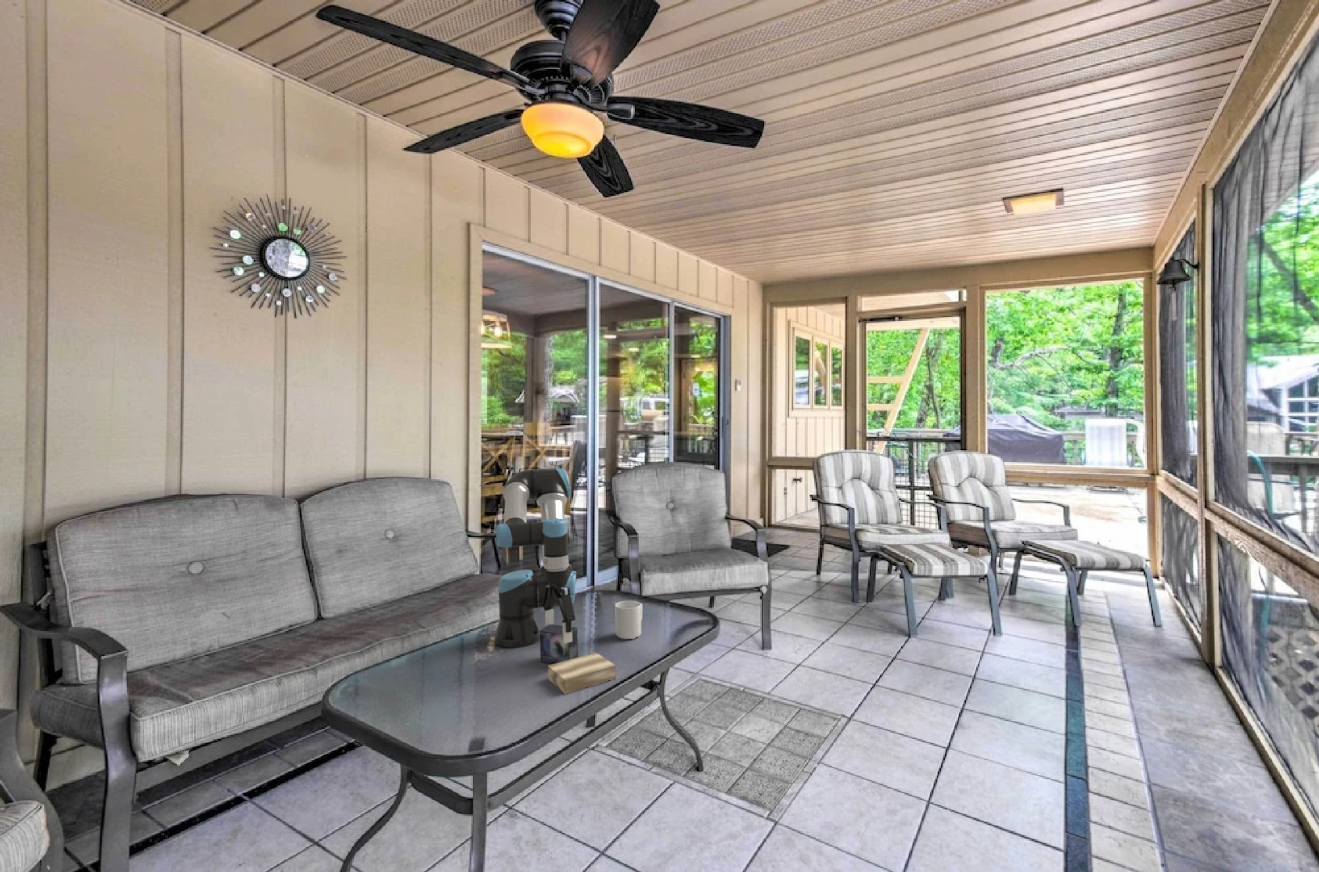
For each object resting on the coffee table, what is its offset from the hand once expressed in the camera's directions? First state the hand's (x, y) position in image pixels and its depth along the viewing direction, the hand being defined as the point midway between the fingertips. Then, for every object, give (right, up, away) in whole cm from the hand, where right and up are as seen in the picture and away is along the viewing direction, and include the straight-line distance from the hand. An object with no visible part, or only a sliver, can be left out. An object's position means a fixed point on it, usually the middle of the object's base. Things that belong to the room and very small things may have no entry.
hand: (558, 636), depth 189 cm
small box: (0, -8, +1) cm, 8 cm away
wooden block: (+9, -8, -13) cm, 18 cm away
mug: (+22, -7, +22) cm, 32 cm away
